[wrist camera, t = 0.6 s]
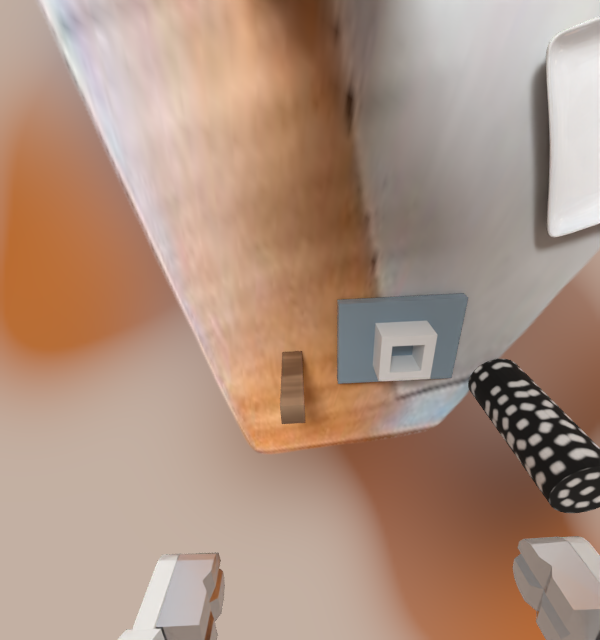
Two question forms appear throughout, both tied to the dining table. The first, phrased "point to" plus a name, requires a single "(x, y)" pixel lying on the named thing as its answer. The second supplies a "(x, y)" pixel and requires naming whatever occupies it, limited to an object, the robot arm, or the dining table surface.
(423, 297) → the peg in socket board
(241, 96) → the dining table surface
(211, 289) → the dining table surface
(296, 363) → the brown wooden peg
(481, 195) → the dining table surface
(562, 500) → the white-spotted black cylinder
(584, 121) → the salad plate
